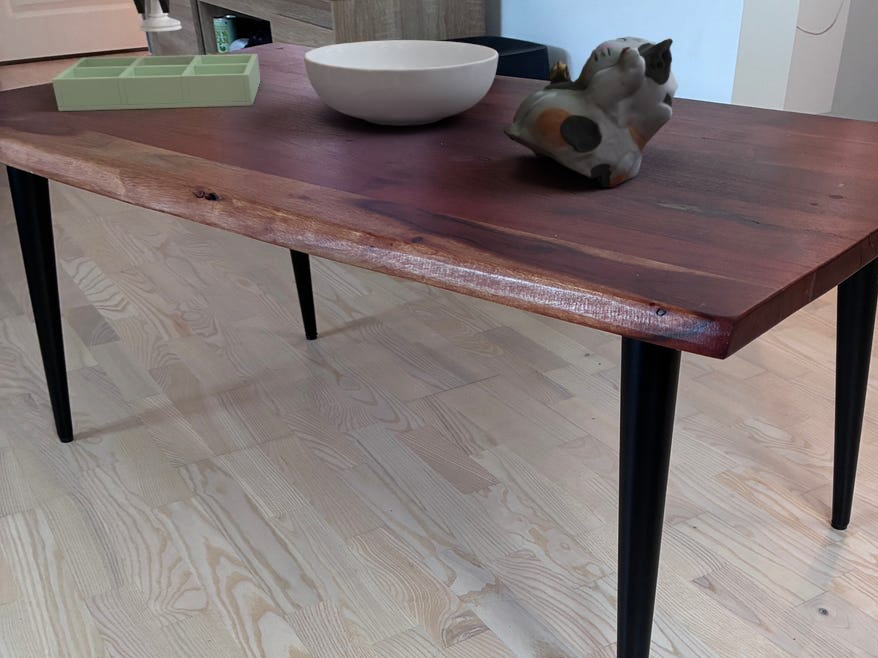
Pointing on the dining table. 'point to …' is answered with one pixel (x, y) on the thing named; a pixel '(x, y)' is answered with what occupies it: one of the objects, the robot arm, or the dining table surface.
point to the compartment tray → (158, 82)
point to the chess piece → (159, 20)
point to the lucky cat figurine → (601, 110)
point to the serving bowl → (401, 79)
